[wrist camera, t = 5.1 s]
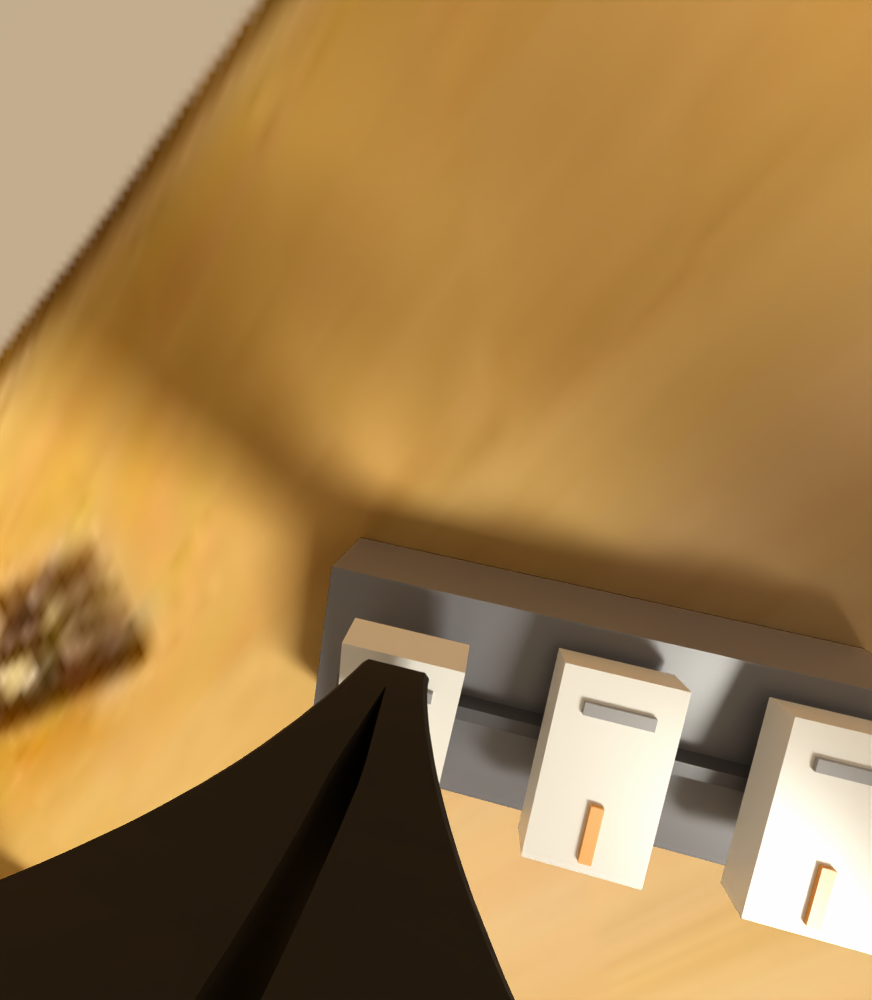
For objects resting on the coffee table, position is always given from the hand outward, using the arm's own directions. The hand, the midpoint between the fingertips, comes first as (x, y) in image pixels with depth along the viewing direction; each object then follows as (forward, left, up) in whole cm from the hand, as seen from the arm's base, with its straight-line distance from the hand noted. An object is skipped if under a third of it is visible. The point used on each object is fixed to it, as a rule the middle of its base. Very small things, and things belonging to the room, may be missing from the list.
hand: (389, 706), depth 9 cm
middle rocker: (-4, -4, -2) cm, 6 cm away
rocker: (-6, -8, -2) cm, 10 cm away
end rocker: (-1, +1, -2) cm, 2 cm away
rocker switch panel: (-4, -4, -5) cm, 7 cm away
